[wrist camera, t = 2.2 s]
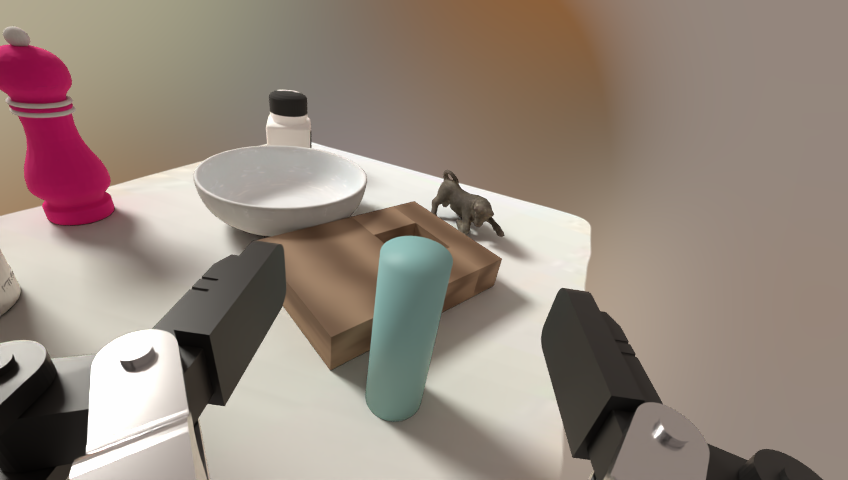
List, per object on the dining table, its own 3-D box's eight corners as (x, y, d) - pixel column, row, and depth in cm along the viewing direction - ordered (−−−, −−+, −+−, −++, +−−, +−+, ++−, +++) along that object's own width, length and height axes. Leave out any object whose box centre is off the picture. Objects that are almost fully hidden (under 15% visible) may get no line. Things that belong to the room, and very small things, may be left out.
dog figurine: (422, 214, 59) (429, 169, 55) (450, 207, 62) (458, 165, 58) (476, 252, 51) (488, 204, 47) (503, 242, 55) (517, 196, 51)
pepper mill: (76, 234, 42) (-4, 33, 32) (24, 218, 43) (-69, 19, 33) (134, 208, 48) (83, 32, 38) (87, 194, 49) (25, 20, 39)
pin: (387, 433, 28) (411, 287, 21) (354, 389, 31) (365, 247, 23) (432, 401, 31) (467, 263, 24) (398, 363, 34) (420, 229, 26)
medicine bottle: (311, 168, 67) (310, 99, 61) (268, 167, 65) (263, 95, 59) (310, 154, 73) (309, 89, 67) (271, 152, 71) (266, 85, 64)
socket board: (330, 370, 32) (331, 337, 30) (257, 271, 41) (254, 240, 39) (493, 285, 45) (502, 258, 43) (410, 225, 55) (414, 201, 53)
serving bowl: (393, 228, 54) (399, 184, 50) (248, 283, 40) (241, 227, 36) (312, 176, 65) (312, 136, 61) (176, 204, 51) (166, 155, 47)
